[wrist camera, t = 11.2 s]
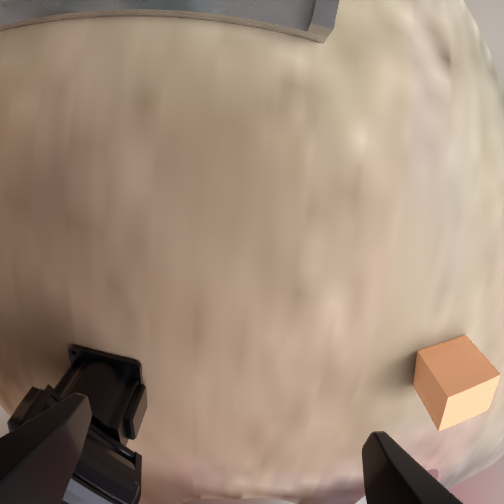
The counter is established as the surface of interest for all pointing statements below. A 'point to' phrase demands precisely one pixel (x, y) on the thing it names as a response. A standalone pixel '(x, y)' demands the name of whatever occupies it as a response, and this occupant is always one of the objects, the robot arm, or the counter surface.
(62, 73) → the counter surface
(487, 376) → the block
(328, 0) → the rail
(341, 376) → the counter surface
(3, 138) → the counter surface
